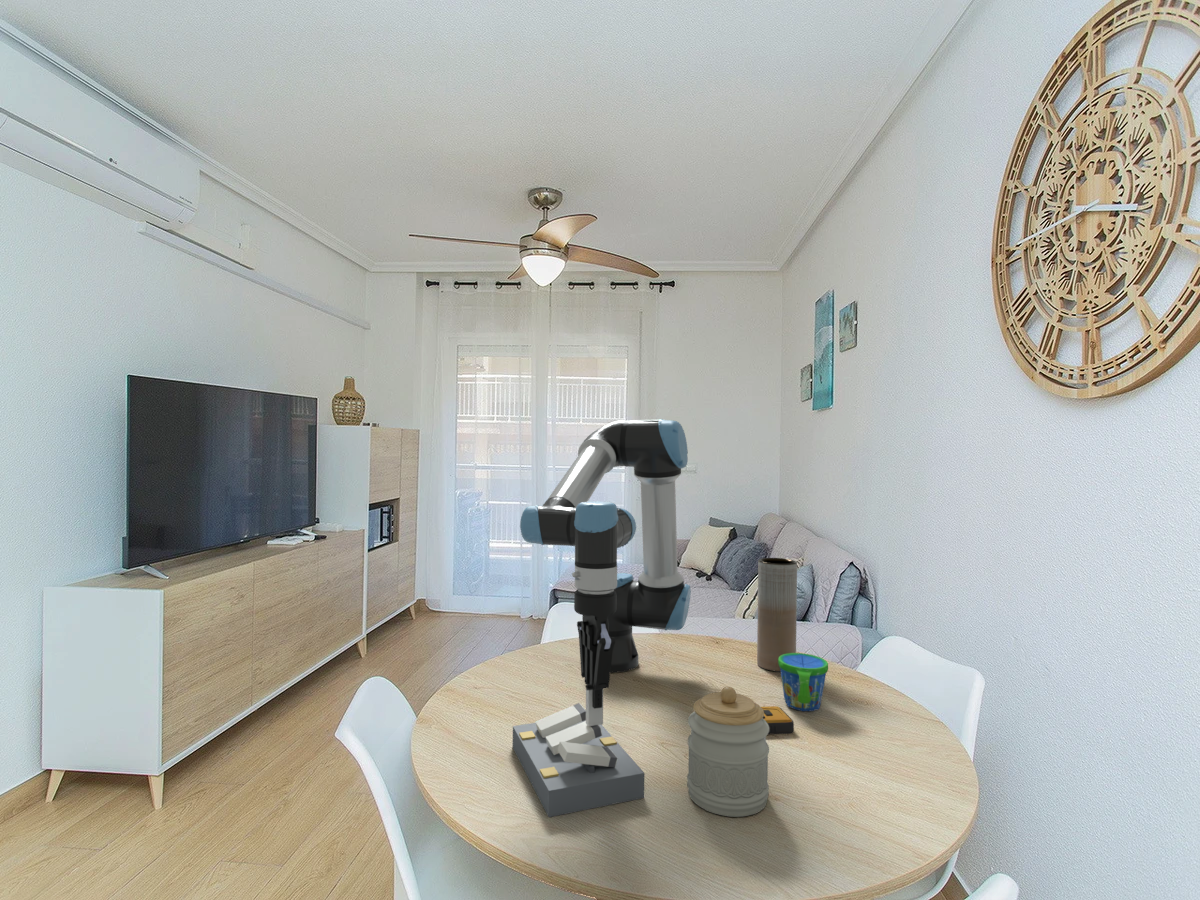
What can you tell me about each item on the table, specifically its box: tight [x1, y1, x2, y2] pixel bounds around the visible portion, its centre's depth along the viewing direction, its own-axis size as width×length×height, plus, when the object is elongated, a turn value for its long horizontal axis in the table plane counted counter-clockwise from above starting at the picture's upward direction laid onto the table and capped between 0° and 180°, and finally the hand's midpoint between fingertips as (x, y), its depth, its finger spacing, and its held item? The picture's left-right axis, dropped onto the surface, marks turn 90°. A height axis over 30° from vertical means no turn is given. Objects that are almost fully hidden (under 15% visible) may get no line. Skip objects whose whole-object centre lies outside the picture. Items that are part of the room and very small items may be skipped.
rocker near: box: [557, 741, 618, 768], centre depth 102 cm, size 4×9×2 cm, turn 111°
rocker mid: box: [546, 721, 602, 755], centre depth 109 cm, size 4×9×2 cm, turn 111°
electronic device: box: [760, 705, 795, 735], centre depth 128 cm, size 8×16×3 cm, turn 97°
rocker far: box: [534, 702, 586, 738], centre depth 115 cm, size 4×9×2 cm, turn 111°
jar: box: [686, 686, 770, 818], centre depth 102 cm, size 13×13×18 cm
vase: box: [756, 557, 798, 673], centre depth 165 cm, size 10×10×28 cm
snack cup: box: [778, 652, 829, 712], centre depth 139 cm, size 16×10×10 cm
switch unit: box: [512, 720, 646, 818], centre depth 109 cm, size 24×16×5 cm, turn 21°
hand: (594, 723), depth 110 cm, fingers closed
